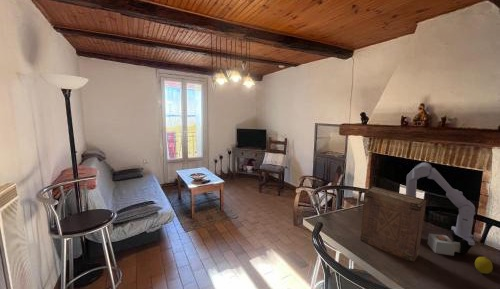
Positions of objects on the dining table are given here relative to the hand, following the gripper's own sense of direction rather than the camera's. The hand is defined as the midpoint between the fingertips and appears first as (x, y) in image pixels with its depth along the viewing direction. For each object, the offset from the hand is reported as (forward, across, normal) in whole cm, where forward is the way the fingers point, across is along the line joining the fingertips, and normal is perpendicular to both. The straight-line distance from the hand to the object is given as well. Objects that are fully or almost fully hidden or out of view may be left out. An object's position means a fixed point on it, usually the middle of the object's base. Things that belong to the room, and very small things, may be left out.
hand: (459, 249), depth 114 cm
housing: (+1, 0, +8) cm, 9 cm away
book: (+2, -5, +34) cm, 35 cm away
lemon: (+2, -15, 0) cm, 15 cm away
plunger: (-4, 0, +8) cm, 9 cm away
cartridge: (+1, 0, +5) cm, 5 cm away
